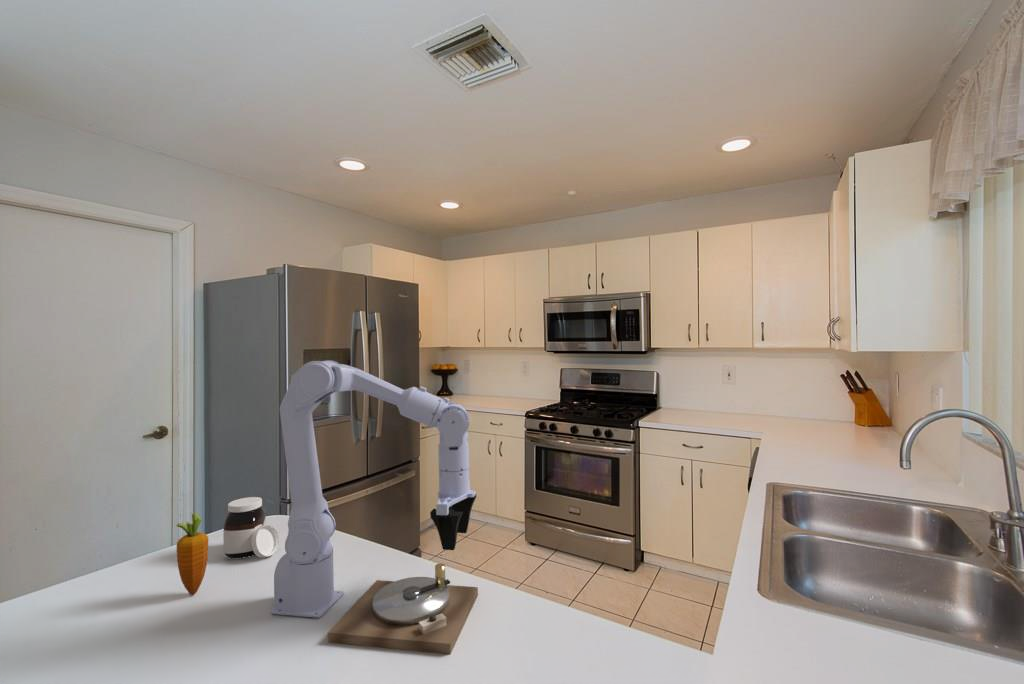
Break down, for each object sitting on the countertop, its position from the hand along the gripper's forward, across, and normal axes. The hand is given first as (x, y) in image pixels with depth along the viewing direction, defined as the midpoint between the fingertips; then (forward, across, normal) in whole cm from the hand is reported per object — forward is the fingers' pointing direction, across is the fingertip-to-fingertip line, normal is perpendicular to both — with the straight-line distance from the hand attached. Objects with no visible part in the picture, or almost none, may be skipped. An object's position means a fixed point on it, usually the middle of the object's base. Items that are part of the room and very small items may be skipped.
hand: (455, 540), depth 86 cm
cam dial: (+8, -8, +6) cm, 12 cm away
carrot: (+10, -8, +50) cm, 51 cm away
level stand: (+10, -9, +6) cm, 14 cm away
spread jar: (+10, +10, +52) cm, 53 cm away
